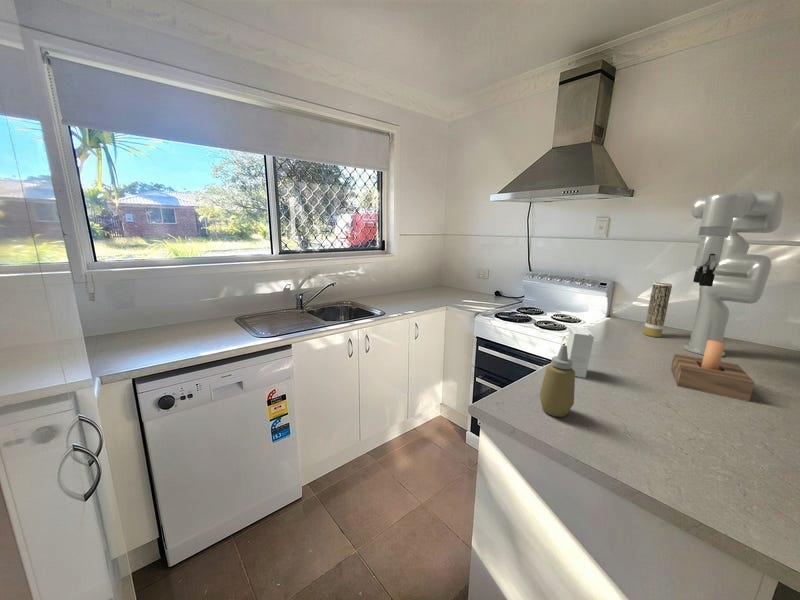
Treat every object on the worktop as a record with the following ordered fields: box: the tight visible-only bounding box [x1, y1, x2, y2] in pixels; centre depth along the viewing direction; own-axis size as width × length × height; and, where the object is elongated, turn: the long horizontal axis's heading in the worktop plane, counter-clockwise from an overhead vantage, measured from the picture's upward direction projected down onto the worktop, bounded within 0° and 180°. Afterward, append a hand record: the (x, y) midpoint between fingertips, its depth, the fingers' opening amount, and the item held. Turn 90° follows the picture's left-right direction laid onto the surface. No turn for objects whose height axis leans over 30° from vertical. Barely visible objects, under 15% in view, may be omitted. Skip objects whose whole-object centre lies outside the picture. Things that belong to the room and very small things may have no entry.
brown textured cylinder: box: [643, 282, 673, 338], centre depth 152 cm, size 7×7×25 cm
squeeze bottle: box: [539, 344, 576, 418], centre depth 83 cm, size 8×8×18 cm
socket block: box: [670, 352, 755, 402], centre depth 104 cm, size 16×16×6 cm
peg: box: [701, 340, 726, 370], centre depth 103 cm, size 4×4×14 cm
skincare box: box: [566, 325, 595, 379], centre depth 108 cm, size 8×6×15 cm
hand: (702, 284), depth 111 cm, fingers open, 9 cm apart
